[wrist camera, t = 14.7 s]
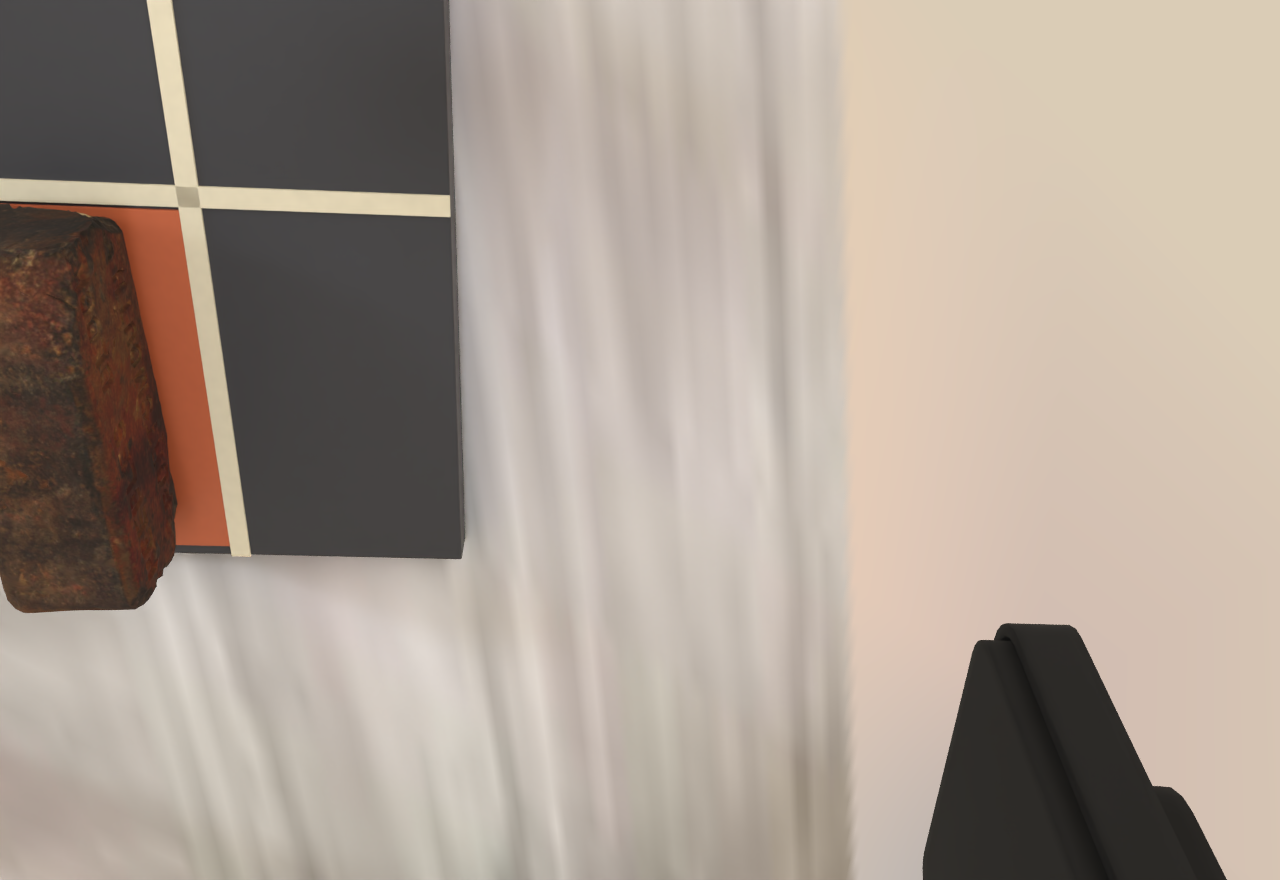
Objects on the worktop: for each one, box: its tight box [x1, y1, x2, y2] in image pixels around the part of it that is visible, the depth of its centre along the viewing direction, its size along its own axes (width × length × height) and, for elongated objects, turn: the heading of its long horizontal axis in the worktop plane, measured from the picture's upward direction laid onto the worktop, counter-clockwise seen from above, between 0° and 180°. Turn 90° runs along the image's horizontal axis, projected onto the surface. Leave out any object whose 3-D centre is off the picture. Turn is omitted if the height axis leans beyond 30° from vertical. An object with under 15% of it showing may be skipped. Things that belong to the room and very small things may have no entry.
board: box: [0, 0, 465, 559], centre depth 33 cm, size 14×24×1 cm, turn 177°
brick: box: [0, 204, 178, 613], centre depth 33 cm, size 11×4×5 cm, turn 0°
